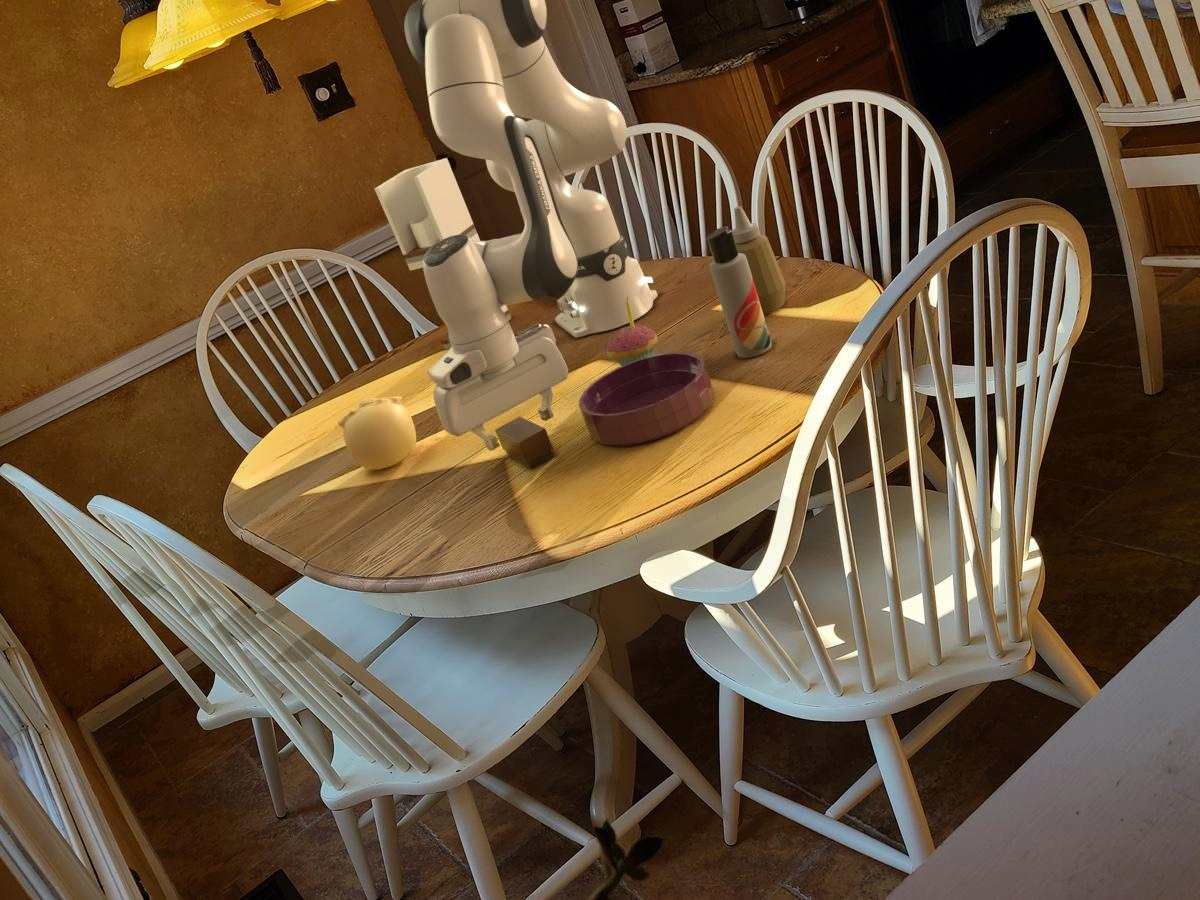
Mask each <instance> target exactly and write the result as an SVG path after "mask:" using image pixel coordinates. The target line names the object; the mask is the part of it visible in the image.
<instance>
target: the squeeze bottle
mask: <svg viewBox="0 0 1200 900" xmlns="http://www.w3.org/2000/svg"><path fill="white" fill-rule="evenodd" d="M733 210H734V224H735V228H734V229H731V231H732V234H733V237H734V241H735V244H736V248H737V251H738V253H742V254H744V255H745V256H746V258H747V261H748V265H749V268H750V271H751V275H752V278H753V281H754V285H755V288H756V291H757V295H758V298H759V302H760V305H761V308H762V312H763V315H767V314H770V313H773V312H775V311H778V310H779V309H780V308H782V307H783V306H784V305H785V299H786V281H785V278H784V275H783V273H782V270H781V268H780V266H779V263H778V261H777V258H776V256H775V253H774V251H773V249H772V246H771V243H770V240H769V238H768V237H767V236H766V235H764V234H761V231H760V227H759V225H758V223H755V222H753V223H752V222H750V220H749V218H748V216H747V213H746V212H745V210H744V209H743V207H742V205H740V206H736V207H734V209H733Z"/></svg>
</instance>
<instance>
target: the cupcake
mask: <svg viewBox="0 0 1200 900" xmlns="http://www.w3.org/2000/svg"><path fill="white" fill-rule="evenodd" d="M626 307H627V312H628V317H629V322H630V323H629V326H625V327H623V328H621V329H620V330H618V331H617V332H616V333H615V334H614V335H613V336H611V337H610V339H609V341H608V342H607V343H606V344H607V345H606V349H605V350H606V351H607V352H606V354H607V358H608V359H609V360H612V361H615V362H617V363H618V365H620V367H621V366H623V365H626V364H628V363H630V362H633V361H636V360H639V359H642V358H645V357H649V356H653V355H655V346H656V344H657V343H658V339H659V338H658V335H657V333H656V331H655V330H654V329H653V328H650V327H649V325H647V326H646V325H643V324H642V325H641V324H639V325H637V324H636V325H635V323H634V322H635V320H634V321H633V316H632V311H631V306H630V302H629V301H628V296H627V302H626Z"/></svg>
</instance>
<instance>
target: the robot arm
mask: <svg viewBox="0 0 1200 900" xmlns="http://www.w3.org/2000/svg"><path fill="white" fill-rule="evenodd" d="M546 4H547V3H546V0H417V1H415V2H414V3H413V4H411V5H410V6H409V8H408V10H407V12H406V15H405V18H404V23H403V26H404V34H405V39H406V43H407V45H408V48H409V51H410V53H411V55H412V56H413V58H414V59H415V60H416V62H418V64H420V65H421V66H423V67H424V69H425V70H424V71H425V74H424V75H425V85H426V93H427V100H428V106H429V113H430V119H431V122H432V126H433V129H434V131H435V134H436V136H437V137H438V138H439V140H440V141H441V142H442V143H443V144H444V145H445V146H446V147H447V148H449V149H450V150H451V151H453V152H455V153H458V154H460V155H462V156H466V157H469V158H470V157H471V158H475V159H481V160H485V164H486V168H487V171H488V173H489V175H490V177H491V179H492V180H493V181H494V182H495V183H496V184H497V185H498V186H500V188H503V189H504V190H506V191H509V192H512V193H514V194H515V197H516V200H517V204H518V206H519V211H520V214H521V216H522V220H523V223H524V227H523V231H522V232H521V233H517V234H513V235H508V236H505V237H501V238H493V239H489V240H480V241H474V240H471V239H470V238H469V237H468V236H467V235H463V234H460V235H454V236H450V237H447V238H445V239H443V240H442V241H440V242H438V243H436V244H434V245H433V246H432V247H431V248H430V249H429V250H428V251H427V252H426V254H425V255H424V257H423V261H422V262H423V268H422V271H423V274H424V275H423V276H424V279H425V283H426V287H427V289H428V293H429V295H430V298H431V300H432V303H433V306H434V308H435V310H436V313H437V315H438V317H439V318H440V319H441V321H442V322H443V323H444V325H445V327H446V330H447V335H448V336H449V341H450V343H451V346H452V347H451V348H450V349H447V351H446V352H445V353H444V354H443V355H442V356H441V357H440V358H439V359H438V360H437V361H435V363H434V364H433V365H432V366H431V367H430V368H429V369H428V371H427V372H428V373H427V375H428V377H429V380H430V381H431V382H432V383H433V384H435V386H434V388H433V392H432V393H433V394H432V395H433V402H434V406H435V409H436V412H437V416H438V418H439V421H440V424H441V426H442V428H443V430H444V431H445V432H446V433H448V434H450V435H452V436H454V437H457V438H458V437H461V436H463V435H465V434H466V433H469V432H471V433H473V434H474V435H476V436H477V437H479V438H480V439H482V440H483V441H484V445H485V447H486V448H487V450H488V451H490V452H492V451H494V450H496V449H498V448H499V447H500V446H501V444H500V442H499V439H498V437H497V435H494V434H492V433H490V434H488V435H486V434H485V433H484V431H485V429H486V428H485V426H484V425H485V424H486V423H487V422H489V421H491V420H493V419H495V418H496V417H498V416H500V415H502V414H504V413H506V412H508V411H510V410H511V409H514V408H515V407H517V406H519V405H521V404H522V403H524V402H527V401H529V400H531V399H532V398H534V397H536V396H538V395H539V396H541V406H540V407H539V408H537V412H538V414H539V418H540V420H541V421H544V422H547V421H549V420H551V419H552V418H554V417H555V416H554V413H553V410H552V408H551V407H552V402H553V395H554V393H553V390H552V387H555V386H556V385H559V384H560V383H561V382H564V381H566V380H567V378H568V375H569V368H568V365H567V362H566V360H565V359H564V357H563V355H562V353H561V351H560V350H559V348H558V346H557V345H556V344H557V339H556V337H555V334H554V331H553V329H552V328H551V326H549V325H548V324H545V323H544V324H540V323H535V324H532V326H531V325H530V327H529V328H526V329H524V330H521V331H519V332H517V333H515V334H514V331H513V329H512V327H511V324H510V320H509V321H508V318H507V316H506V315H505V314H504V312H503V311H502V310H501V307H502V306H503V305H506V306H511V305H517V304H521V303H526V302H532V301H543V300H544V301H546V300H556V299H557V300H556V304H557V306H558V308H559V310H560V311H561V312H560V313H559V314H557V315H556V316H555V318H554V320H555V323H556V324H557V325H558V326H559V327H561V328H562V329H563V330H565V331H566V332H567V333H568V334H570V335H571V336H573V337H574V338H576V339H577V338H583V337H586V336H588V335H592V334H597V333H601V332H607V331H610V330H615V329H617V328H620V327H623V326H625V325H627V324H630V322H629V317H628V312H627V307H626V302H627V296H628V301H629V302H630V306H631V311H632V316H633V321H634V322H635V320H638V319H639V318H641V317H642V316H644V315H646V313H648V312H649V311H650V310H651V309H652V308H653V305H654V301H655V299H657V298H658V296H659V294H658V292H657V290H656V289H650V286H649V284H648V283H654V280H653V278H652V276H645V275H644V272H643V269H642V267H641V266H640V264H639V262H638V260H637V259H636V258H633V257H630V256H629V254H630V253H629V249H628V245H627V242H626V241H625V239H624V237H623V235H621V234H620V232H619V229H618V226H617V222H616V220H615V217H614V214H613V211H612V208H611V206H610V202H609V201H608V200H607V198H606V197H605V196H604V195H603V194H601V193H600V192H597V191H595V190H591V189H585V188H584V189H583V188H578V187H575V186H573V185H571V184H570V183H569V182H568V181H567V180H566V178H565V177H567V176H569V175H572V174H575V173H577V172H580V171H584V170H587V169H590V168H593V167H596V166H598V165H601V164H603V163H604V162H607V161H609V160H610V159H612V158H613V157H615V156H617V155H619V154H620V153H621V152H622V151H623V150H624V148H625V145H626V141H627V137H628V128H627V123H626V120H625V117H624V115H623V113H622V111H621V110H620V109H619V108H618V107H617V106H616V105H615V104H614V103H613V102H611V101H610V100H608V99H605V98H599V97H595V96H592V95H589V94H587V93H586V92H582V91H581V90H579V89H578V88H576V87H575V86H573V85H572V84H571V83H570V82H568V80H566V78H565V77H564V76H563V75H562V73H561V72H560V70H559V68H558V66H557V64H556V63H555V61H554V58H553V56H552V54H551V53H550V50H549V48H548V45H547V44H546V41H545V39H544V37H543V35H544V33H545V32H546V29H547V25H548V16H547V15H548V13H547V5H546ZM522 118H524V119H529V120H527V121H526V120H524V119H522Z"/></svg>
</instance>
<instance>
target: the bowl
mask: <svg viewBox="0 0 1200 900" xmlns="http://www.w3.org/2000/svg"><path fill="white" fill-rule="evenodd" d="M713 386H714V385H713V383H712V380H711V378H710V374H709V371H708V368H707V366H706V362H705V359H704V358H702V357H701V356H700V355H699V354H695V353H692V352H687V351H686V352H685V351H672V352H664V353H659V354H654V355H653V356H649V357H645V358H642V359H639V360H636V361H633V362H630V363H628V364H626V365H623V366H621V365H620V366H618V367H616V368H614V369H612V370H611V371H609V372H607V373H605V374H604V375H602V376H600V377H599V378H598V379H596V380H594V382H592V383H591V384H590V385H589V386H588V387H586V389H585V390H584V391H583V393H581V395H580V398H579V399H578V407H579V410H580V412H581V415H582V418H583V421H584V423H585V425H586V428H587V430H588V431H587V432H588V433H589V435H590V436H591V438H592V439H593V440H595V441H597V442H599V443H601V444H606V445H610V446H616V447H617V446H618V447H626V446H627V447H628V446H635V445H636V446H637V445H641V444H646V443H650V442H654V441H657V440H660V439H664V438H666V437H668V436H670V435H672V434H674V433H677V432H679V431H680V430H682V429H684V428H686V427H688V426H690V424H692V423H693V422H694V421H696V420H697V419H698V418H700V417H701V416H702V415H703V414H704V412H705V411H706V410H707V409H708V407H709V406H710V404H712V402H713V399H714V397H715V390H714V387H713Z"/></svg>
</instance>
